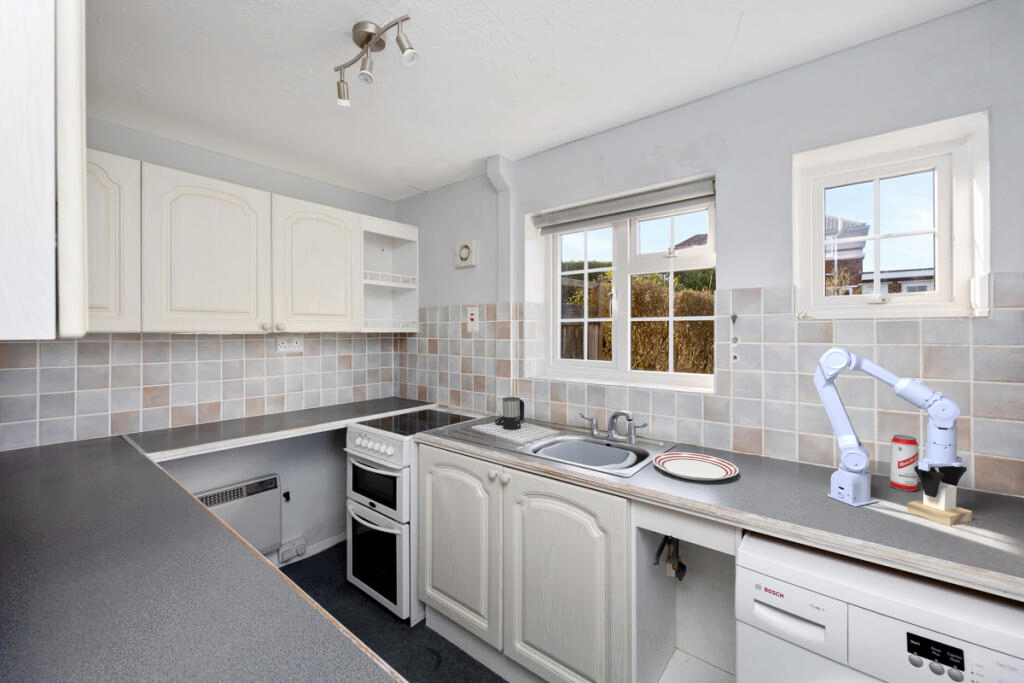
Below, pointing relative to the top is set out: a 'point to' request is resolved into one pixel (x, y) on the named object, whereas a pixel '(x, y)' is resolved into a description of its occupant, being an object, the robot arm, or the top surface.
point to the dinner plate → (695, 466)
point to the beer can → (904, 463)
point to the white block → (942, 498)
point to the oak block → (940, 513)
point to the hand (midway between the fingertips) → (939, 493)
